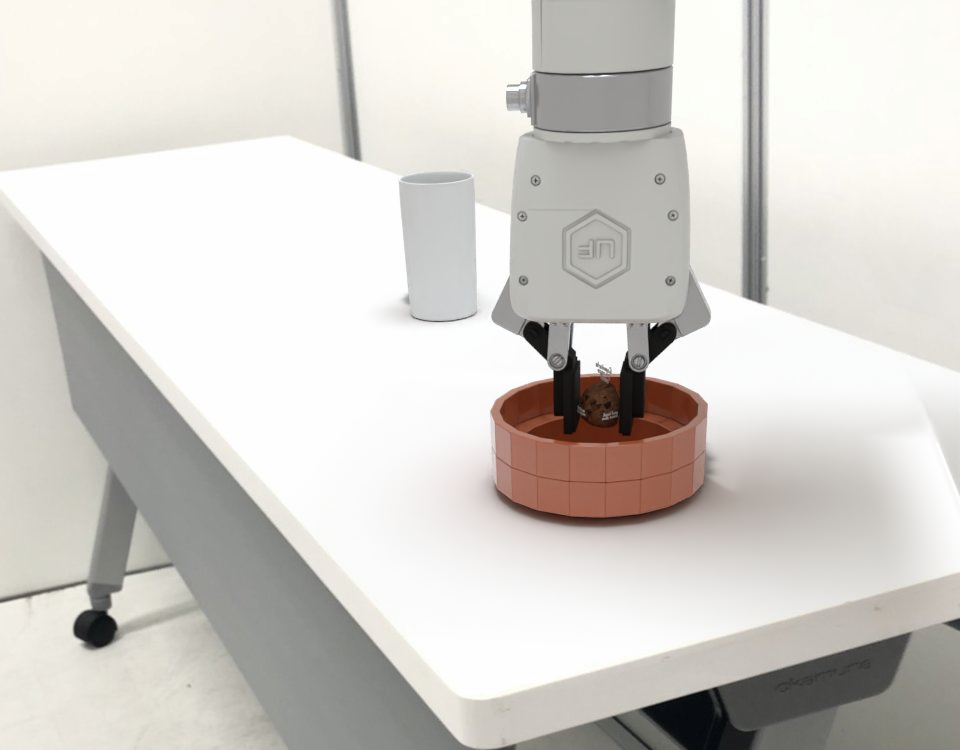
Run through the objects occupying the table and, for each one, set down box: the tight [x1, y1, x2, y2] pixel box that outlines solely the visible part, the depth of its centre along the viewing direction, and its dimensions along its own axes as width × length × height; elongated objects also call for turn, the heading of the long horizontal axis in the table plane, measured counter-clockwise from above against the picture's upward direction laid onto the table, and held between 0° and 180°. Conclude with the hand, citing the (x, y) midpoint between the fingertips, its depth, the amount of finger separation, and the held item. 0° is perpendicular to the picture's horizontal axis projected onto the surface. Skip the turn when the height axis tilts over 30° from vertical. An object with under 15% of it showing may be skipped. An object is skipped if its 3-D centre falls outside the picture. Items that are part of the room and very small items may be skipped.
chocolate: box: [577, 361, 619, 428], centre depth 74 cm, size 3×2×4 cm
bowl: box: [489, 372, 709, 519], centre depth 76 cm, size 13×13×5 cm
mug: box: [398, 170, 478, 322], centre depth 112 cm, size 10×7×12 cm, turn 164°
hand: (599, 425), depth 75 cm, fingers closed on chocolate, 2 cm apart
